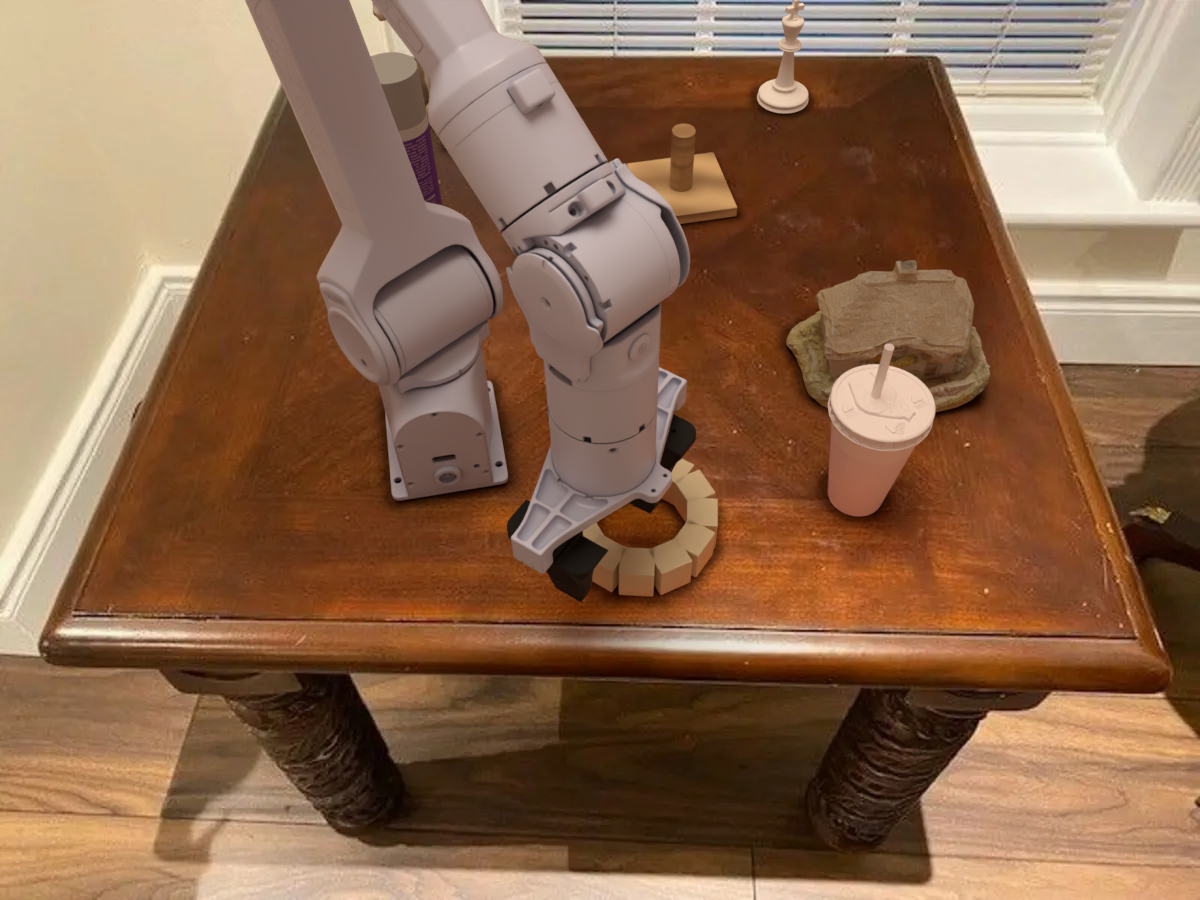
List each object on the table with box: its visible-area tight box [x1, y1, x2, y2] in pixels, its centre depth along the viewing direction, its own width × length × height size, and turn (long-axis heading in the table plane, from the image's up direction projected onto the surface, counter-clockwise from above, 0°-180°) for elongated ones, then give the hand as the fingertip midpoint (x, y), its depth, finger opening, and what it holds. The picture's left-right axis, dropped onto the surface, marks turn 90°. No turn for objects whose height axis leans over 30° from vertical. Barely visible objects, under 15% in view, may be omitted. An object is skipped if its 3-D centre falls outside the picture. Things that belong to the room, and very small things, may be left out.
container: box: [370, 51, 443, 205], centre depth 83 cm, size 5×5×15 cm
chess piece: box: [756, 0, 809, 115], centre depth 95 cm, size 5×5×10 cm
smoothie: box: [827, 344, 936, 517], centre depth 65 cm, size 6×6×14 cm
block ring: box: [583, 457, 719, 597], centre depth 68 cm, size 10×10×3 cm
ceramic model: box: [785, 259, 991, 413], centre depth 74 cm, size 14×11×10 cm
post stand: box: [626, 123, 738, 225], centre depth 88 cm, size 8×8×6 cm
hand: (606, 545), depth 64 cm, fingers open, 7 cm apart
